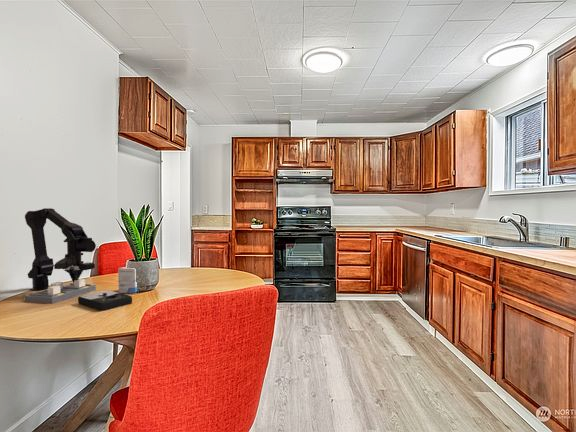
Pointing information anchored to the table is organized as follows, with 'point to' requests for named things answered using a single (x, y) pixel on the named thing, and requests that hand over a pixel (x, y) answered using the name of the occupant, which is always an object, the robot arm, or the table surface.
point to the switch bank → (59, 294)
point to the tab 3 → (79, 283)
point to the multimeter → (104, 300)
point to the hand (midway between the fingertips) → (75, 283)
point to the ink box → (127, 280)
